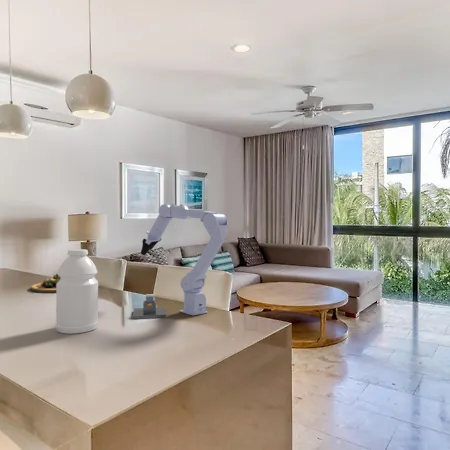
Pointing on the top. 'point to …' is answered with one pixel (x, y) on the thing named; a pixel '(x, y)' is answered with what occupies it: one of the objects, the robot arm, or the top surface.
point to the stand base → (149, 311)
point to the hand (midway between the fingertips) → (145, 251)
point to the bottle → (77, 294)
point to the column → (149, 298)
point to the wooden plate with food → (46, 285)
